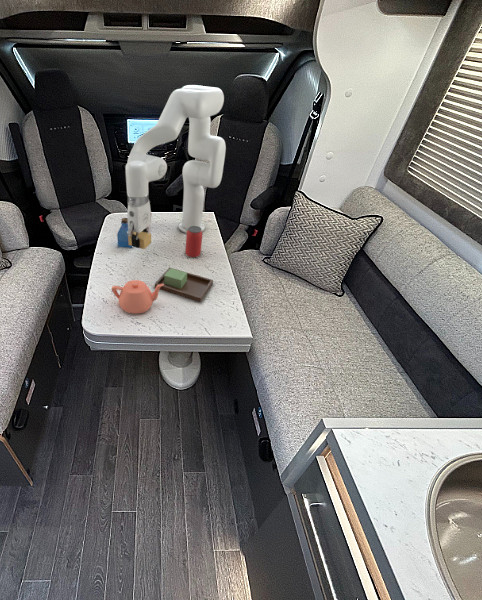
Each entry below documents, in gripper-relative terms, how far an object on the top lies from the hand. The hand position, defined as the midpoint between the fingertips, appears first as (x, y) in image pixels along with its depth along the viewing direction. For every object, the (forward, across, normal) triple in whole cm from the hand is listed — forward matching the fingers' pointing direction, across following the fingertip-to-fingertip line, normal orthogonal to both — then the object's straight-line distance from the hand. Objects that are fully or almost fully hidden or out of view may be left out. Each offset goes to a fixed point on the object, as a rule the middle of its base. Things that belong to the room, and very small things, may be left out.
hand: (140, 242), depth 132 cm
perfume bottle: (+12, +13, +15) cm, 24 cm away
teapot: (+11, -21, -11) cm, 26 cm away
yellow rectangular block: (+1, 0, 0) cm, 1 cm away
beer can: (+12, +19, -15) cm, 27 cm away
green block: (+11, -4, -17) cm, 21 cm away
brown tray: (+12, -4, -21) cm, 24 cm away
